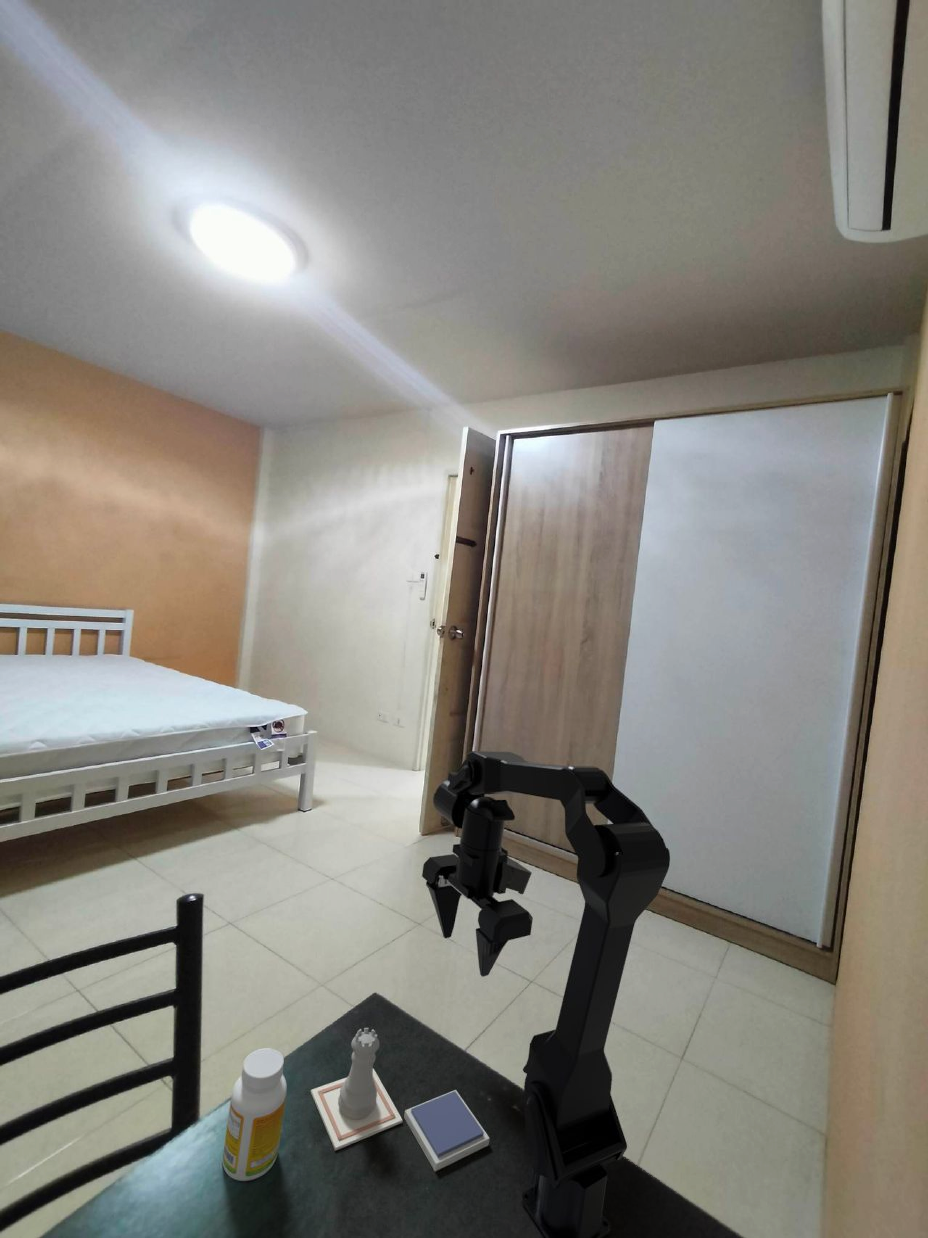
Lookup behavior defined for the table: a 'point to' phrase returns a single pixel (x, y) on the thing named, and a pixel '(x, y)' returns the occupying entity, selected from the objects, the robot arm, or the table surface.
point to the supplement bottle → (255, 1116)
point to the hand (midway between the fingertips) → (464, 955)
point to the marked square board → (349, 1129)
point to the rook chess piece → (360, 1077)
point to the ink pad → (446, 1129)
